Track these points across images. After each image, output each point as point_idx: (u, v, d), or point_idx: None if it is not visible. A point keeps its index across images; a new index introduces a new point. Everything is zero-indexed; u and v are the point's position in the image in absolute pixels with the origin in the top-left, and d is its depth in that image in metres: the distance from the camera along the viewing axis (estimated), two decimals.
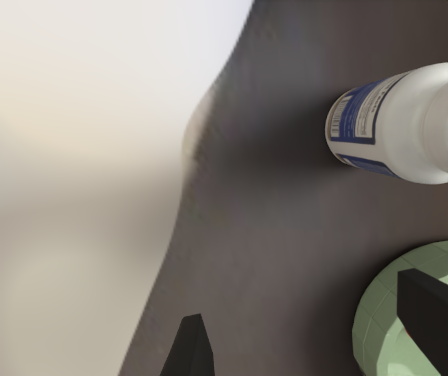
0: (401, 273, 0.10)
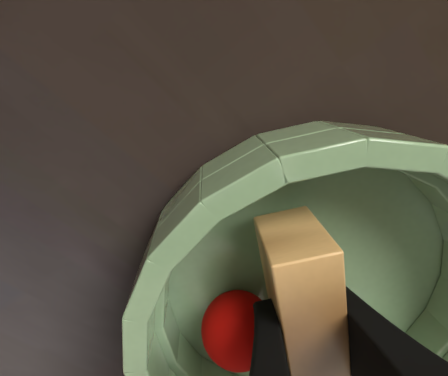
0: None
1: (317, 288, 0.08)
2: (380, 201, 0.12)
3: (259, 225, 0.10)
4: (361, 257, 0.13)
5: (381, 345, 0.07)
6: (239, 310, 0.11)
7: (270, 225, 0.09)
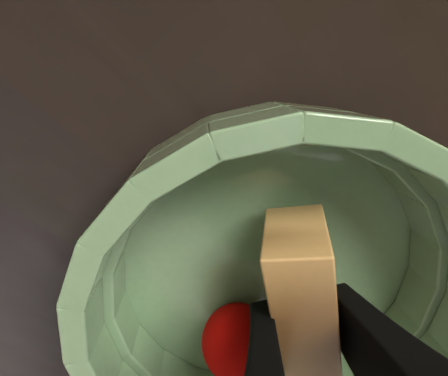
0: None
1: (305, 288, 0.08)
2: (342, 188, 0.11)
3: (267, 217, 0.10)
4: None
5: (385, 344, 0.07)
6: None
7: (277, 219, 0.10)
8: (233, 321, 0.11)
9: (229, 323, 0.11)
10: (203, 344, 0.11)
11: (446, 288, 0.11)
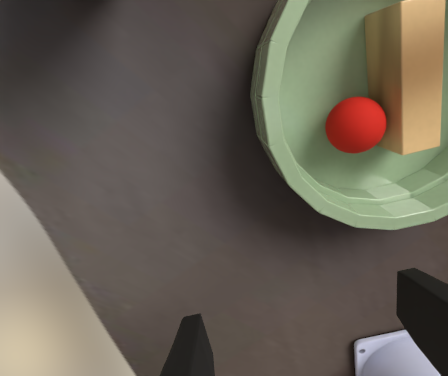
0: (401, 273, 0.10)
1: (427, 21, 0.12)
2: None
3: (373, 12, 0.14)
4: None
5: None
6: (384, 114, 0.15)
7: None
8: None
9: (355, 97, 0.15)
10: (330, 114, 0.15)
11: None
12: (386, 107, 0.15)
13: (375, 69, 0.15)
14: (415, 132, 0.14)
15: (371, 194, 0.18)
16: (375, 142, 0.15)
